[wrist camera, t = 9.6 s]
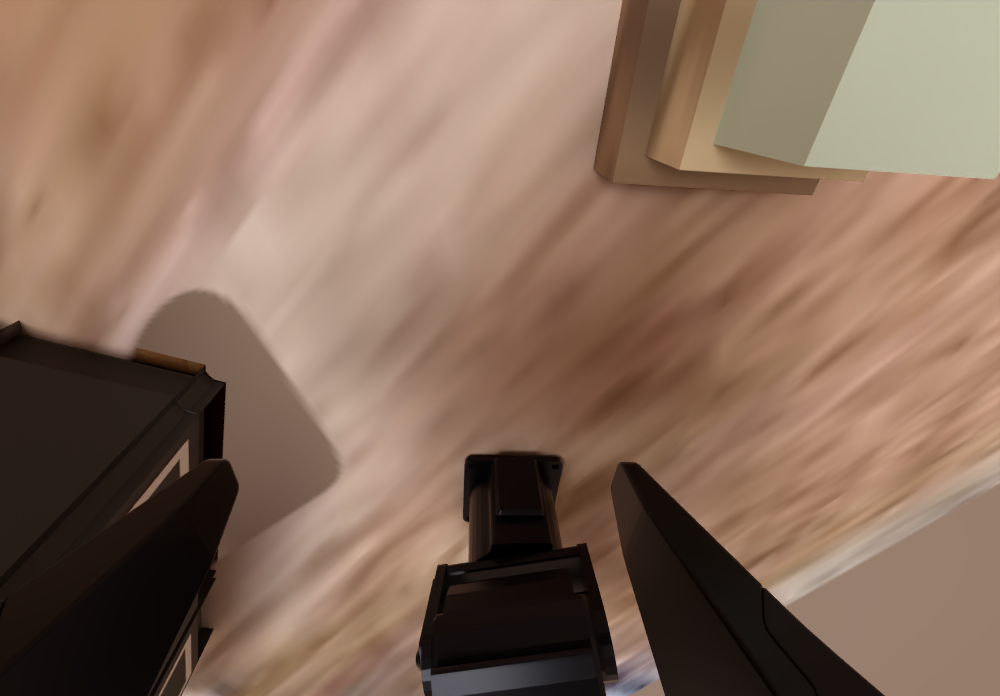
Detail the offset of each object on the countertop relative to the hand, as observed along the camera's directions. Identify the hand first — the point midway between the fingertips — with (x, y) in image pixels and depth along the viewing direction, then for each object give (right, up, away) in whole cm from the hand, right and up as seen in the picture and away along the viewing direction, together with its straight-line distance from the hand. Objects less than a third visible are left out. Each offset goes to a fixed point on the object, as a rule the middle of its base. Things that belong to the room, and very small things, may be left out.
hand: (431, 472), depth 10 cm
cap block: (+10, +11, +1) cm, 15 cm away
